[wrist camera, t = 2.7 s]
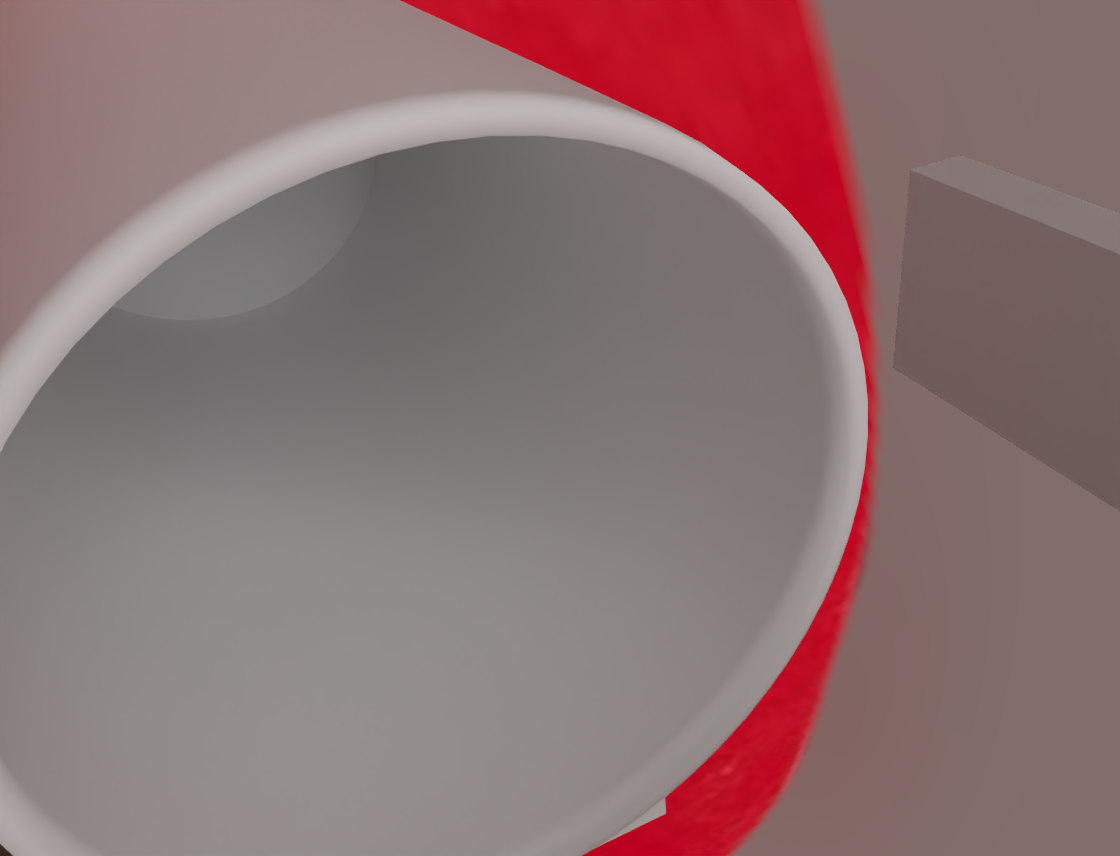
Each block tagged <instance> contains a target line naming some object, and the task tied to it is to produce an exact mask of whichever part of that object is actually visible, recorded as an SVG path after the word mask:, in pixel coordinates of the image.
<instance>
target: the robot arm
mask: <svg viewBox="0 0 1120 856" xmlns="http://www.w3.org/2000/svg"><path fill="white" fill-rule="evenodd" d="M900 284H901V285H900V295H899V307H898V317H897V329H896V340H895V352H894V363H893V368H895V369H896V370H898V371H899V372H901V373H902V374H904V375H905V376H907V377H909V378H910V379H912V380H913V381H915V382H917V383H918V384H920V385H921V386H923V387H924V388H926V389H928V390H929V391H931V392H932V393H934V394H936V395H937V396H939V397H940V398H942V399H943V400H945V401H947V402H948V403H950V404H952V405H953V406H955V407H956V408H958V409H959V410H961V411H962V412H964V413H966V414H967V415H969V416H970V417H972V418H973V419H975V420H977V421H978V422H980V423H981V424H983V425H985V426H986V427H988V428H989V429H991V430H992V431H994V432H996V433H997V434H999V435H1000V436H1002V437H1004V438H1005V439H1007V440H1008V441H1010V442H1012V443H1013V444H1014V445H1016V446H1018V447H1019V448H1021V449H1023V450H1024V451H1026V452H1027V453H1029V454H1030V455H1032V456H1033V457H1035V458H1037V459H1038V460H1040V461H1041V462H1043V463H1045V464H1046V465H1048V466H1049V467H1051V468H1052V469H1054V470H1056V471H1057V472H1059V473H1060V474H1062V475H1064V476H1065V477H1067V478H1068V479H1070V480H1071V481H1073V482H1075V483H1076V484H1078V485H1079V486H1081V487H1082V488H1084V489H1086V490H1087V491H1089V492H1090V493H1092V494H1094V495H1095V496H1097V497H1099V498H1100V499H1101V500H1103V501H1105V502H1106V503H1108V504H1109V505H1111V506H1113V507H1114V508H1116V509H1117V510H1119V511H1120V214H1119V213H1116V212H1113V211H1111V210H1108V209H1105V208H1103V207H1100V206H1097V205H1094V204H1092V203H1089V202H1086V201H1083V200H1081V199H1078V198H1075V197H1072V196H1069V195H1067V194H1064V193H1061V192H1059V191H1056V190H1053V189H1050V188H1048V187H1045V186H1042V185H1040V184H1037V183H1034V182H1032V181H1029V180H1026V179H1023V178H1020V177H1018V176H1015V175H1012V174H1010V173H1007V172H1004V171H1001V170H999V169H996V168H993V167H991V166H988V165H985V164H982V163H980V162H977V161H974V160H972V159H969V158H966V157H963V156H957V157H954V158H950V159H947V160H943V161H940V162H936V163H933V164H930V165H926V166H922V167H919V168H915V169H912V170H911V171H910V181H909V193H908V204H907V215H906V227H905V239H904V250H903V261H902V273H901V283H900Z"/></svg>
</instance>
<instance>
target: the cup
mask: <svg viewBox="0 0 1120 856" xmlns="http://www.w3.org/2000/svg"><path fill="white" fill-rule="evenodd" d="M867 437H868V400H867V390H866V380H865V370H864V364H863V359H862V355H861V350H860V345H859V340H858V336H857V332H856V329H855V326H854V323H853V320H852V317H851V314H850V311H849V308H848V305H847V302H846V300H845V298H844V296H843V294H842V291H841V289H840V287H839V285H838V283H837V281H836V279H835V277H834V275H833V273H832V270H831V269H830V267H829V265H828V264H827V262H826V261H825V259H824V258H823V256H822V255H821V253H820V251H819V250H818V248H817V247H816V245H815V244H814V242H813V240H812V239H811V238H810V237H809V235H808V234H807V233H806V232H805V231H804V229H803V228H802V227H801V226H800V225H799V223H798V222H797V221H796V220H795V219H794V217H793V216H792V215H791V214H790V213H789V211H788V210H787V209H786V208H784V207H783V206H782V205H781V204H780V203H779V202H778V201H777V200H776V199H775V198H774V197H772V196H771V195H770V194H769V193H768V192H767V191H766V190H765V189H764V188H763V187H762V186H760V185H759V184H758V183H757V182H755V181H754V180H753V179H751V178H750V177H749V176H747V175H746V174H744V173H743V172H742V171H740V170H739V169H738V168H736V167H735V166H733V165H732V164H731V163H729V162H728V161H726V160H725V159H724V158H722V157H721V156H719V155H718V154H716V153H715V152H714V151H712V150H711V149H709V148H708V147H706V146H705V145H704V144H702V143H701V142H699V141H697V140H695V139H693V138H691V137H689V136H687V135H685V134H683V133H682V132H680V131H678V130H676V129H674V128H672V127H670V126H668V125H666V124H665V123H663V122H660V121H658V120H656V119H654V118H652V117H650V116H648V115H645V114H643V113H641V112H639V111H637V110H635V109H633V108H630V107H628V106H626V105H624V104H622V103H620V102H618V101H616V100H613V99H611V98H609V97H607V96H605V95H603V94H601V93H598V92H596V91H594V90H592V89H590V88H588V87H586V86H583V85H581V84H579V83H577V82H575V81H573V80H571V79H568V78H566V77H564V76H562V75H560V74H558V73H556V72H554V71H551V70H549V69H547V68H545V67H543V66H541V65H539V64H536V63H534V62H532V61H530V60H528V59H526V58H523V57H521V56H519V55H517V54H515V53H513V52H510V51H508V50H506V49H504V48H502V47H500V46H497V45H495V44H493V43H491V42H489V41H487V40H484V39H482V38H480V37H478V36H476V35H473V34H471V33H469V32H467V31H465V30H463V29H460V28H458V27H456V26H454V25H452V24H450V23H447V22H445V21H443V20H441V19H439V18H437V17H434V16H432V15H430V14H428V13H426V12H424V11H421V10H419V9H417V8H415V7H413V6H411V5H408V4H406V3H404V2H402V1H400V0H0V844H1V845H2V846H3V847H4V848H5V849H6V850H7V851H8V852H10V853H11V854H12V855H13V856H582V855H584V854H586V853H587V852H589V851H590V850H592V849H594V848H595V847H597V846H599V845H600V844H602V843H603V842H605V841H607V840H608V839H610V838H611V837H612V836H614V835H615V834H617V833H618V832H620V831H621V830H622V829H624V828H625V827H627V826H628V825H630V824H631V823H632V822H634V821H635V820H637V819H638V818H639V817H641V816H642V815H643V814H644V813H646V812H647V811H648V810H650V809H651V808H652V807H653V806H655V805H656V804H657V803H658V802H660V801H661V800H662V799H664V798H665V797H666V796H667V795H669V794H670V793H671V792H672V791H673V790H674V789H675V788H676V787H678V786H679V785H680V784H681V783H682V782H683V781H684V780H686V779H687V778H688V777H689V776H690V775H691V774H692V773H693V772H695V771H696V770H697V769H698V768H699V767H700V766H701V765H702V764H703V763H704V762H705V761H706V760H707V759H708V758H709V757H710V756H711V755H712V754H713V753H714V752H715V751H716V750H717V749H718V748H719V747H720V746H721V745H722V744H723V743H724V742H725V741H726V739H727V738H728V737H729V736H730V735H731V734H732V733H733V732H734V731H735V730H736V728H737V727H738V726H739V725H740V724H741V723H742V722H743V721H744V720H745V718H746V717H747V716H748V715H749V713H750V712H751V711H752V710H753V708H754V707H755V706H756V705H757V703H758V702H759V701H760V700H761V699H762V697H763V696H764V695H765V694H766V692H767V691H768V690H769V688H770V687H771V685H772V684H773V683H774V681H775V680H776V678H777V677H778V676H779V674H780V673H781V671H782V670H783V668H784V667H785V666H786V664H787V663H788V661H789V660H790V658H791V657H792V655H793V653H794V652H795V650H796V648H797V647H798V645H799V644H800V642H801V640H802V639H803V637H804V635H805V634H806V632H807V630H808V629H809V627H810V625H811V623H812V621H813V619H814V617H815V615H816V613H817V612H818V610H819V608H820V606H821V604H822V602H823V600H824V598H825V596H826V593H827V591H828V589H829V587H830V584H831V582H832V580H833V578H834V575H835V573H836V571H837V569H838V566H839V563H840V560H841V557H842V555H843V552H844V549H845V546H846V544H847V541H848V538H849V535H850V531H851V528H852V524H853V520H854V517H855V513H856V509H857V506H858V501H859V496H860V491H861V485H862V480H863V474H864V469H865V458H866V448H867Z"/></svg>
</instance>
